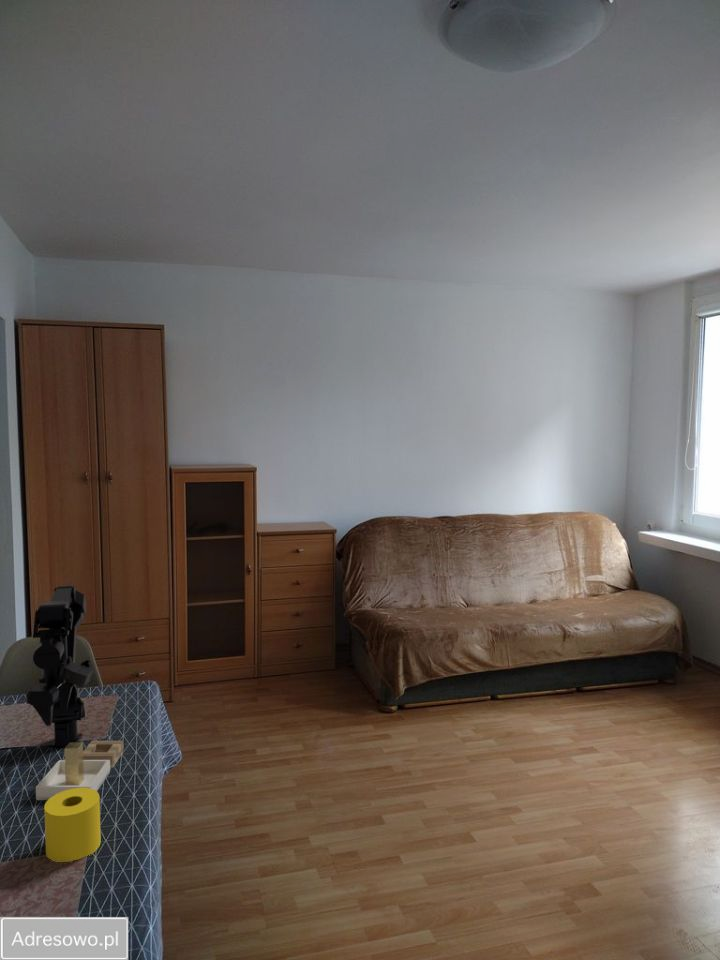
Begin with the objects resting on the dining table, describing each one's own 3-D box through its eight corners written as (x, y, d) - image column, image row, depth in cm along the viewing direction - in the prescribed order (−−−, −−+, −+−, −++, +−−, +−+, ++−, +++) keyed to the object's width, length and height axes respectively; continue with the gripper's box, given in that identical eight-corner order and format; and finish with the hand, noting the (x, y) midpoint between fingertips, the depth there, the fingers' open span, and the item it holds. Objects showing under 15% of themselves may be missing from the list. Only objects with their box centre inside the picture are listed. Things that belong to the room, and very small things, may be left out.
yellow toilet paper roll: (66, 869, 128) (65, 821, 127) (35, 851, 133) (33, 805, 132) (111, 842, 136) (110, 797, 135) (80, 826, 141) (78, 782, 140)
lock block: (91, 752, 173) (91, 740, 173) (123, 752, 173) (123, 740, 173) (79, 768, 165) (79, 756, 165) (112, 767, 165) (112, 755, 165)
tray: (59, 772, 163) (58, 760, 163) (110, 771, 163) (110, 759, 163) (36, 800, 151) (35, 787, 151) (91, 799, 151) (90, 786, 151)
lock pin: (71, 779, 159) (69, 742, 158) (83, 779, 159) (82, 742, 158) (65, 786, 156) (64, 748, 155) (79, 786, 156) (77, 748, 155)
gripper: (72, 668, 156) (74, 734, 157) (101, 642, 174) (103, 701, 175) (23, 668, 155) (26, 734, 157) (58, 642, 174) (60, 701, 175)
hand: (56, 717), depth 166 cm, fingers open, 9 cm apart
